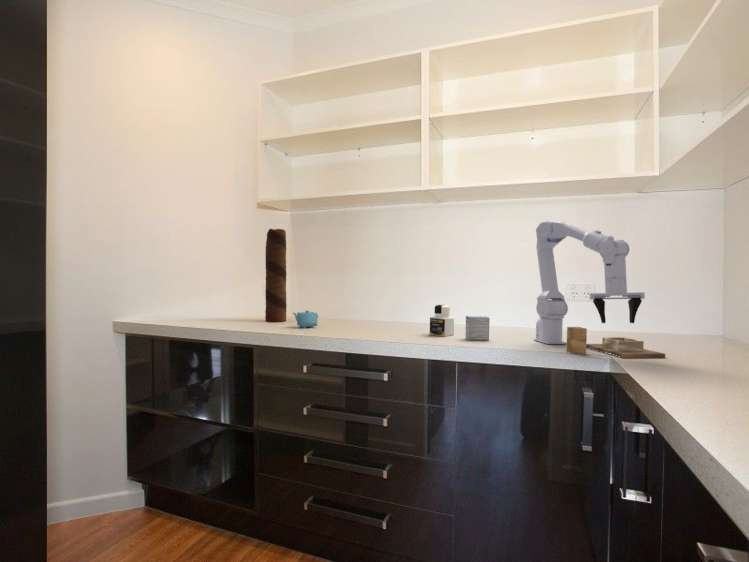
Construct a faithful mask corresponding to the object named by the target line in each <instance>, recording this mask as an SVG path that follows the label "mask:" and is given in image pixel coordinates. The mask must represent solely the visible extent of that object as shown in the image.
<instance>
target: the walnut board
mask: <svg viewBox="0 0 749 562" xmlns="http://www.w3.org/2000/svg"><path fill="white" fill-rule="evenodd" d="M601 341H602V343H586V349H588V348H590V349H589V350H592V349H594V350H593V351H595V350H598V351H597V352H599V351H602V352H607V353H611V354H614V355H617V356H620V357H623V358H622V359H665V358H666V353H663V352H659V351H655V350H650V349H645V348H644V340H639V339H636V338H635V339H634V338H629V337H625V336H624V337H623V336H622V337H621V336H619V337H616V336H614V337H612V336H611V337H606V336H605V337H602V340H601ZM602 352H601V353H602ZM617 356H616V357H617ZM620 357H619V358H620Z"/></svg>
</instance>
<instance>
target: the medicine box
mask: <svg viewBox="0 0 749 562" xmlns="http://www.w3.org/2000/svg"><path fill="white" fill-rule="evenodd" d="M490 319H491V318H490V317H489V316H487V315H485V316H484V315H466V316H465V339H466V340H467V341H490Z"/></svg>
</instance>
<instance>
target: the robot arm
mask: <svg viewBox="0 0 749 562" xmlns="http://www.w3.org/2000/svg"><path fill="white" fill-rule="evenodd" d="M535 233H536V247H535V248H536V255H537V262H538V269H539V278H540V279H539V280H540V284H541V285H540V286H541V293H540V294H538V296H537V298H536V300H537V302H536V307H535V309H536V312H537V314H538V316H539V318H538V319H537V321H536V322H535V323H536V324H535V338H533V340H534V341H537V342H540V343H542V344H546V345H567V341H563V325H564V324H563V320H564V319H565V316H566V315H567V314H568V311H569V305H568V303H567V302H566V300H565V295H563V294H562V292H560V290H559V285H558V279H557V277H558V276H557V272H556V271H557V270H556V263H555V256H554V248H555V247H556V246H558V245H559V244H560V243H561V242H562V241H563V240H564V239H565V240H566V238H567V237H571V238H573V239H575V240H578V241H580V242H582V244H583V246H584V247H585V248H587V249H589V250H591V251H593V252H596V253H599V255H600V256H601V257H602V263H603V265H604V268H603V269H604V288H605V291H604V292H603V293H602V292H599V293H598V292H597V293H594V292H593V293H589V294H588V295H589V300H591V301H592V303H593V304H594V306H595V308H596V310H597V311H598V314H599V317H600V320H601V324H606V321H607V320H606V309H605V308H606V307H605V306H606V301H605V300H627V305H628V310H629V324H635V320H636V316H637V312H638V309H639V308H640V306H641V304H642V300H645V298H646V297H645V292H642V291H641V292H639V291H638V292H628V286H627V285H628V283H627V280H628V279H627V266H626V265H627V263H626V257H627V256H628V255H629V253H630V246H629V244H628V242H626V241H625V240H623V239H618V240H617V239H614V238H615V237H614V236H612V235H606V234H603V233H602V231H601V230H599V229H598V230H591V231H589V232H588V231H586V230H584V229H582V228H580V227H579V226H575V225H574V224H572V223H568V222H566V221H553V220H545V219H544V220H541V222H540V223H539V224H538V225H537V227H536V229H535ZM613 296H615V297H613ZM616 296H617V297H616ZM618 296H619V297H618Z"/></svg>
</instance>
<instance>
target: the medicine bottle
mask: <svg viewBox="0 0 749 562" xmlns="http://www.w3.org/2000/svg"><path fill="white" fill-rule="evenodd" d="M450 314H451V306H449V305H448V304H437V305H434V316H430V317H429V335H431V336H435V337H436V336H437V337H444V338H445V337H449V336H454V335H455V317H453V316H450Z"/></svg>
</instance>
